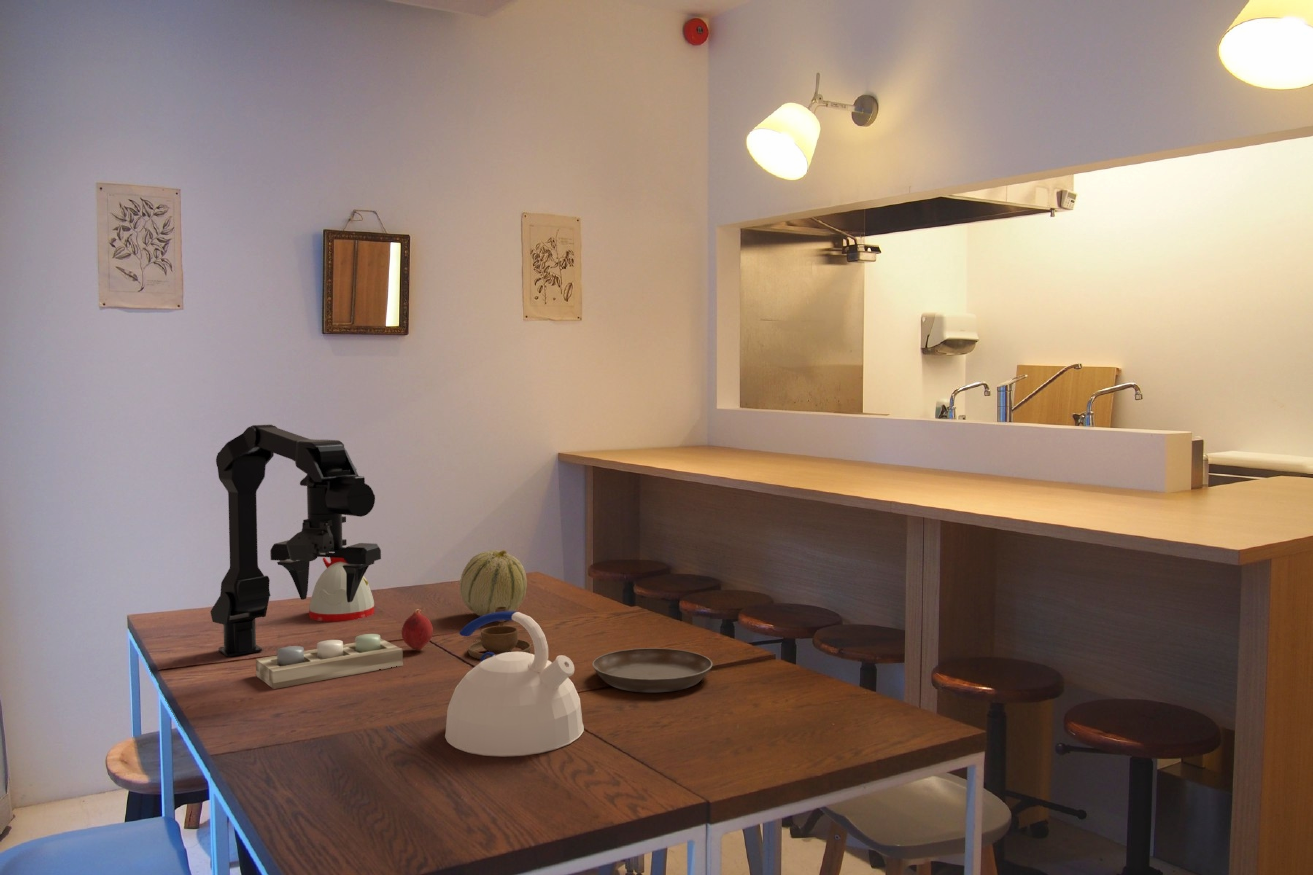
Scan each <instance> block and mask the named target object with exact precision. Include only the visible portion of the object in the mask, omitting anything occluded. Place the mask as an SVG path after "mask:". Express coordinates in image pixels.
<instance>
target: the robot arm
mask: <svg viewBox="0 0 1313 875" xmlns="http://www.w3.org/2000/svg"><path fill="white" fill-rule="evenodd" d="M274 454H276V455H279V456H281V457H284V458H286V459H289V460H292V461H293V462H294V463H295V464H294V465H295V467H296V468H297V469H299V470H300V471H302V472H303V473H305V474H306V475H305V477H303V478H302V479H300V481H299V485H300V486H302V487H306V498H307V499H306V501H307V502H306V505H307V518H306V519H303V520H302V525H301V526H302V529H301V531H299V532H297V533H296V534H294V535H293V536H292V537H291V538H290V539H289V540H288V539H287V540H284V541H280V542H276V543H274V544H273V545H272V547H271V548H270V557H269V558H270V561H277V562H276V563H277V565H278V566H282V567H283V568H284V569H286V570H287V571H288V573H289V575H290V577H291V578H292V581H293V583H294V586H295V588H296V590H297V593H298V595H299V597H300V600H303V601H304V600H306V599H307V597H308V590H309V578H310V577H309V576H310V564H311V563H310V562H313V561H315V560H317V559H318V558H330V557H333V558H344V560H345V561H346V562H347V563H348V564H346V565H343V568H344V570H345V572H346V595H347V602H352V601H353V599H354V596H355V594H356V592H357V589H358V587H359V584H360V582H361V580H362V578H363V576H364V577H365V574H366V572H367V570H368V568H369V567H370V566H371V565H374V564H375V562H376V561H379V560H382V554H381V553H382V550H381V548H380V546H379V545H378V544H377V543H369V542H368V543H367V542H359V543H355V544H352V545H349V546H347V538H346V539H343V523H347V516H350V517H351V516H352V517H359V518H361V517H365V516H367V515H369V514H370V512H372V510H373V508H374V506H375V503H376V501H375V500H376V495H375V494H374V491H373V489H372V487H371V486H370V485H368V484H367V483H365V482H366V480H365V476H362V475H359V473H358V472H357V467H356V466H355V465H354V463H353V461H352V459H351V457H350V454H349V453H348V450H347V449H346V447H345V444H344V443H343V442H342V441H341V440H338V439H312V438H311V439H310V438H309V437H308V438H307V437H305V436H302V435H299V434H295V433H294V432H291V431H287V430H285V429H281V428H278V427H277V426H276V425H274V424H253V425H251V426H248V427H247V428H246V429H245V430H244V431H243V432H242V433H241V434H239V435H237V436H236V437H234V438H233V439H231V440H229V441H228V442H226V443H225V445H223V447H222V448H221V449H220V451H218V452H217V455H216V458H215V463H216V467H217V475H218V479H219V481H220V482H221V484H222V485H223V487H224V488H225V490H226V492H227V495H228V496H227V497H228V533H229V535H228V536H229V538H228V539H229V540H228V542H229V545H228V546H229V569H228V570H227V572H226V574H225V575H224V577H223V579H222V581H221V583H220V584H221V585H220V595H219V597H218V598H217V600H216V601H215V603H214V605H213V606H212V608H211V609H210V616H211V622H212V623H216V624H219V625H223V626H222V627H223V628H222V629H223V646H220V647H218V651H219V652H220V653H222V654H223V655H224V656H225V657H233V656H240V655H246V654H253V653H259V652H262V651H263V648H262V647H260V646H259V645H258V644H257V637H256V635H257V634H256V619H258V618H264V617H267V612H268V606H269V603H270V602H269V601H270V597H271V592H270V580H271V579H270V578H269V576H268V575H265V574H264V572H262V570H261V569H260V568H259V562H258V560H259V557H258V553H259V552H258V515H257V514H258V508H257V506H258V505H257V502H258V501H257V491H258V489H259V488H260V486H261V484H262V483H263V481H264V479H265V476H266V469H267V468H266V467H267V464H269V462H270V461H271V460H272V459H273V457H274ZM344 546H345V547H344ZM330 552H331V553H330Z"/></svg>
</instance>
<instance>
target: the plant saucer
mask: <svg viewBox="0 0 1313 875" xmlns="http://www.w3.org/2000/svg"><path fill="white" fill-rule="evenodd" d="M592 667H593V669H594V671H595V673H596V674H597V676H599V677H600V678H601V680H602V681H604V683H606V684H607V685H609V686H611V687H613V688H615V689H618V690H622V691H627V692H633V693H643V694H644V693H645V694H650V693H651V694H653V693H654V694H656V693H657V694H659V693H669V692H671V693H672V692H677V691H681V690H682V691H683V690H686V689H689V688H691V687H693V686H696V685H697V684H699V682H701V681H702V680H703V679H704V678H705V677H706V676H707V675H708V674H709V672H710V670H711V669H712V667H713V662H712V660H711V659H710V658H709V657H707V656H705V655H702V654H700V653H697V652H694V651H688V650H684V649H683V650H682V649H676V648H675V649H673V648H661V647H659V648H658V647H654V648H653V647H647V648H631V649H624V650H623V649H622V650H616V651H613V652H608V653H606V654H605V653H604V654H603V655H599V656H597V658H595V659H594V660H593V661H592Z"/></svg>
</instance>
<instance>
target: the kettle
mask: <svg viewBox="0 0 1313 875" xmlns="http://www.w3.org/2000/svg"><path fill="white" fill-rule="evenodd" d="M499 620H506V621H513V622H516V623H518V624H520V625H521V626H522V627H523V628H524V629H525V630H526V631H527V633H528V634H529V636H530V638H531V641H532V645H533V648H534V654H533V653H530V652H529V653H526V652H519V651H510V652H506V653H502V654H499V655H496V656H495V654H494V653H492V652H489V651H486V652H485V653H483V655H482V657H481V659H480V662H479V663H478V664H477V665H475V666H474V667H473V668H471V669H470V670H469V671H468V672H467V673H466V674H465V675H464V677H462V679H461V680H460V682H459V683H458V684H457V686H456V687H455V689H454V691H453V693H452V696H451V698H450V701H449V703H448V706H447V709H446V710H447V712H446V723H445V724H446V726H445V735H444V738H445V739H446V742H447V743H448V744H449V745H451V746H452V747H453V748H455V749H456V750H459V751H462V752H465V753H468V754H473V755H479V756H484V757H485V756H487V757H503V758H504V757H505V758H506V757H523V756H531V755H537V754H538V755H540V754H544V753H547V752H551V751H555V750H558V749H561V748H563V747H567V746H569V745H570V744H572V743H573V742H575V741H577V740H579V738H581V735H582V734H583V732H585V731H584V730H585V729H584V723H583V715H582V706H581V698H580V696H579V694H578V690H577V689H576V687H575V685H574V683H573V682H572V680H571V679H570V678H569V677H572V676H573V675H574V673H575V665H574V662H573V661H572V660H571V658H570V657H568V656H566V655H563V654H562V655H561V654H560V655H557V656H556V658H555V660H553V662H552V661H551V660H549V645H548V642H547V638H546V635H545V633H544V631H543V629H542V628H541V626H540V625H539V623H537V622H536V621H535V620H534V619H533V618H532V617H531V616H529V615H527V614H524V613H522V612H520V611H517V610H515V611H503V612H495V613H490V614H487V615H483V616H478V618H475V619H473V620H471V621H470V622H468V623H467V624H466V625H465V626H464V627H463V628H462V629H461V630H460V631H459V635H460V636H463V637H469V636H471V635H473V633H474V632H476V631H477V630H478V629H479V628H481V627H482V626H485V625H488V624H490V623H492V622H493V623H494V622H499ZM486 655H490V656H491V657H490V658H488V659H486V660H485V657H486Z"/></svg>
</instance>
